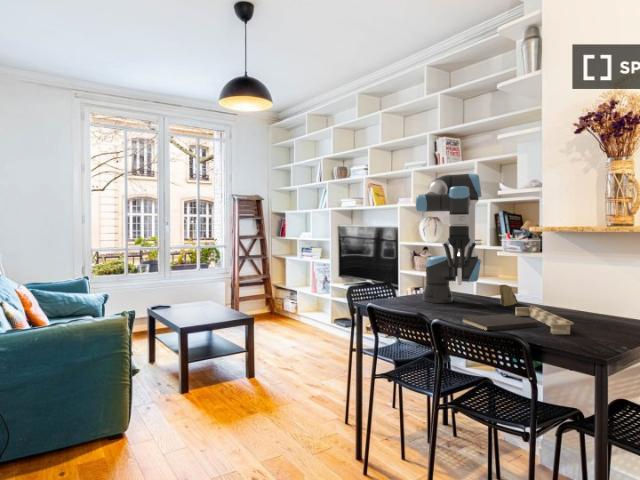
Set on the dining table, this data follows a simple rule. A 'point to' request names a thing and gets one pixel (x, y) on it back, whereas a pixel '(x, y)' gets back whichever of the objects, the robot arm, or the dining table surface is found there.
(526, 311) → the beige notched bar
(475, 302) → the dining table surface
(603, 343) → the dining table surface
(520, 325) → the hardcover book
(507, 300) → the rock
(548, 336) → the dining table surface
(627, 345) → the dining table surface
